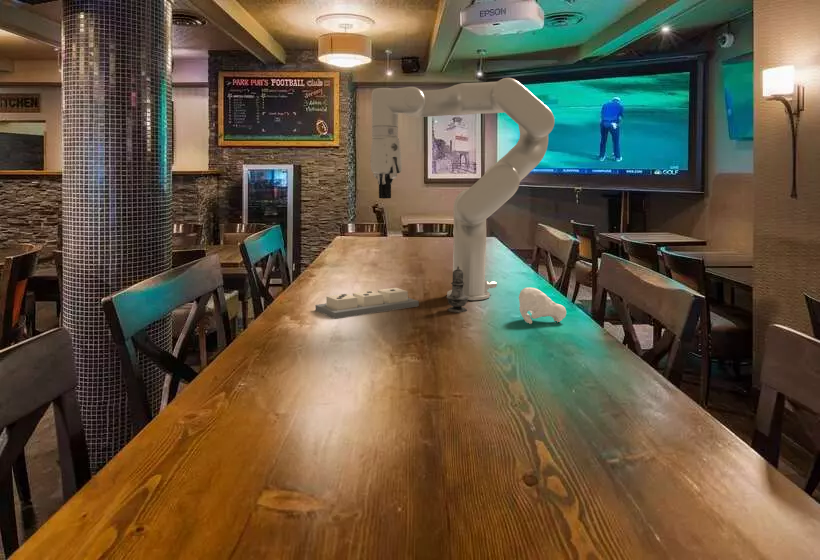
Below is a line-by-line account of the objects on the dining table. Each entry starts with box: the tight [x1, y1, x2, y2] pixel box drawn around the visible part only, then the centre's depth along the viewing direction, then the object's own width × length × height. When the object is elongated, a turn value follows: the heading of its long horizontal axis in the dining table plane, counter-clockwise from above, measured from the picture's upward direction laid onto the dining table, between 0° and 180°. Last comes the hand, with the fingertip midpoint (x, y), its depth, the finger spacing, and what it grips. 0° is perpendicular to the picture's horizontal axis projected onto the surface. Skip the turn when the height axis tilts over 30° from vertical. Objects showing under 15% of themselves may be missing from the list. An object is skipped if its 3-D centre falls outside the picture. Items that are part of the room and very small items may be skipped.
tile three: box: [325, 293, 358, 311], centre depth 163 cm, size 6×6×4 cm
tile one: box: [377, 287, 409, 303], centre depth 172 cm, size 6×6×4 cm
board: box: [314, 297, 420, 319], centre depth 168 cm, size 11×26×2 cm, turn 125°
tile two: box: [352, 290, 383, 307], centre depth 168 cm, size 6×6×4 cm
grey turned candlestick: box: [446, 266, 468, 313], centre depth 166 cm, size 6×6×12 cm
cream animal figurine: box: [518, 287, 567, 325], centre depth 154 cm, size 6×8×12 cm
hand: (384, 198), depth 180 cm, fingers closed
